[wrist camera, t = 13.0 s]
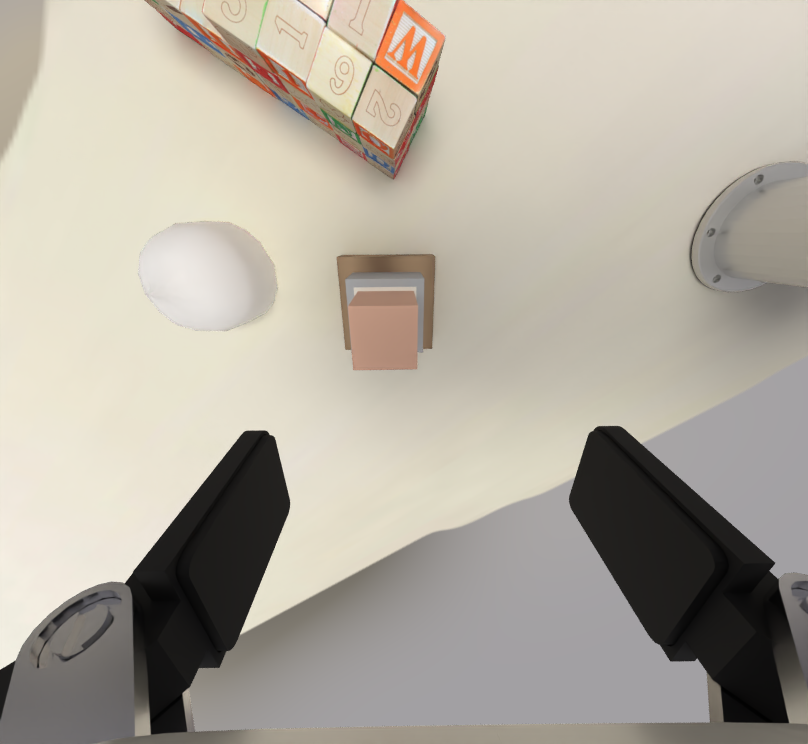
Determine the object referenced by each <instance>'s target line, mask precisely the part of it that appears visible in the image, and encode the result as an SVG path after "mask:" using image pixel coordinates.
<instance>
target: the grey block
mask: <svg viewBox="0 0 808 744" xmlns="http://www.w3.org/2000/svg"><path fill="white" fill-rule="evenodd" d="M345 283H346V295H347V306H348V305H349V304H350V302H351V301H352V299H353V298H354V296H355V295H356V293H357V292H358V291H414V294H415V297H416V300H417V304H418V345H417V352H423V319H424V277H423V275H422V274H421V272H356V273H352V274H351V275H349V276H348V277H347V278H346V279H345ZM348 318H349V313H348ZM349 329H350V325H349ZM350 341H351V337H350ZM351 352H352V348H351Z"/></svg>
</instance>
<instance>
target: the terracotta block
mask: <svg viewBox="0 0 808 744" xmlns="http://www.w3.org/2000/svg"><path fill="white" fill-rule="evenodd" d="M348 313H349V325H350V337H351V348H352V360H353V370H394V369H417V345H418V304H417V300H416V297H415V294H414V291H358V292H357V293H356V295H355V296H354V298H353V299H352V301H351V302H350V304H349V305H348Z"/></svg>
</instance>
